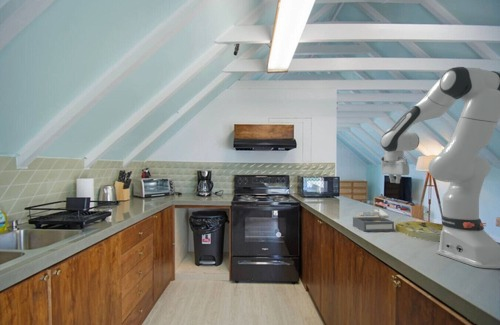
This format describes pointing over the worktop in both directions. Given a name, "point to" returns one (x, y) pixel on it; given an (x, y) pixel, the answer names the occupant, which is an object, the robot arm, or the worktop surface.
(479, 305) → the worktop surface
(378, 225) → the box
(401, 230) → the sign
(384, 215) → the switch
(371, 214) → the switch
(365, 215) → the switch
